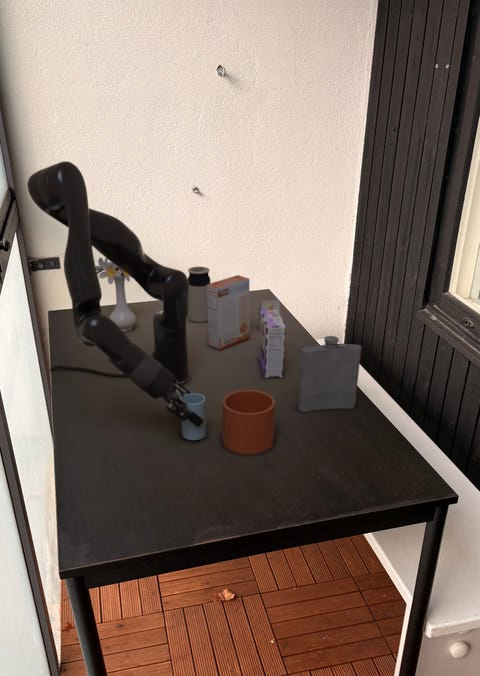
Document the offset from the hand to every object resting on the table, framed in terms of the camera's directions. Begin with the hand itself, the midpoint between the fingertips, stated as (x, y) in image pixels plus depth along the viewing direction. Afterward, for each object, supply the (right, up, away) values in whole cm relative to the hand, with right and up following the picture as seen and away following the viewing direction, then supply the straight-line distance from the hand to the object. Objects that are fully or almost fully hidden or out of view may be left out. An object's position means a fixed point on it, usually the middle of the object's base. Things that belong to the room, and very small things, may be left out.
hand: (200, 417), depth 160 cm
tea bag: (+20, +32, +66) cm, 76 cm away
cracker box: (+6, +26, +55) cm, 61 cm away
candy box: (+19, +15, +38) cm, 45 cm away
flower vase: (-30, +32, +65) cm, 79 cm away
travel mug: (-5, +37, +74) cm, 82 cm away
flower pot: (+12, -6, +1) cm, 13 cm away
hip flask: (+33, +3, +17) cm, 37 cm away
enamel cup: (-2, -4, +2) cm, 5 cm away
